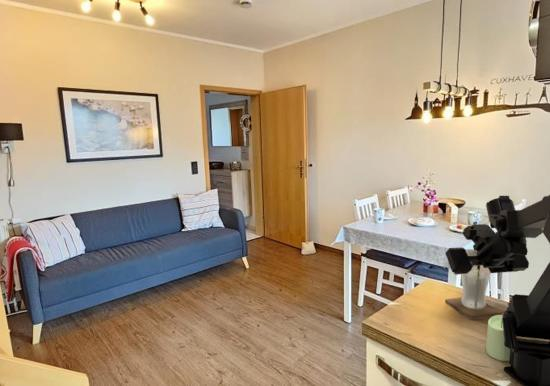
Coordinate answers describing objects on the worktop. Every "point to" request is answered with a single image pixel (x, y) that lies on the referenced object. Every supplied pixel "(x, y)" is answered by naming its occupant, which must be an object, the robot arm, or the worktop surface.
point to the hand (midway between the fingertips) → (471, 272)
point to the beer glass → (475, 286)
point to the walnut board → (472, 314)
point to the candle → (496, 339)
